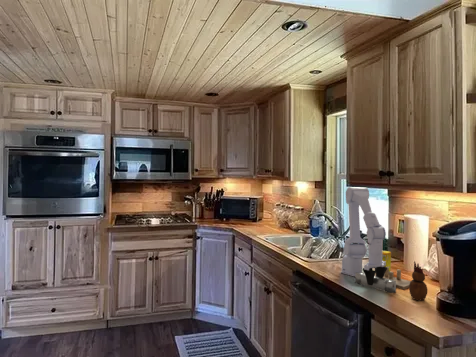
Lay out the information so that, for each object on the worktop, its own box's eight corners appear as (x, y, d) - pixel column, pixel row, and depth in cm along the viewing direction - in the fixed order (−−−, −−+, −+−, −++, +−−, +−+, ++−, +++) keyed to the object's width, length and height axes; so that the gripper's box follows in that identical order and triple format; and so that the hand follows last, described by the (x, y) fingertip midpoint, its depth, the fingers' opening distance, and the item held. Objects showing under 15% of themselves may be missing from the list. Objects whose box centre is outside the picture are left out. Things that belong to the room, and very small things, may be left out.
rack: (363, 278, 170) (363, 266, 170) (375, 274, 177) (375, 263, 177) (403, 289, 154) (404, 276, 154) (415, 285, 161) (416, 272, 161)
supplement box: (374, 272, 182) (374, 251, 182) (379, 270, 186) (379, 249, 186) (385, 274, 178) (386, 253, 177) (390, 272, 182) (391, 251, 182)
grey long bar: (353, 282, 163) (353, 272, 163) (358, 280, 166) (359, 271, 166) (392, 293, 148) (392, 283, 148) (397, 291, 151) (398, 281, 151)
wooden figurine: (406, 296, 145) (407, 260, 145) (419, 296, 146) (420, 260, 146) (415, 302, 139) (416, 264, 138) (429, 302, 139) (430, 264, 139)
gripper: (374, 257, 149) (374, 288, 149) (392, 253, 158) (391, 283, 158) (360, 254, 155) (359, 284, 155) (377, 250, 164) (377, 279, 164)
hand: (374, 283), depth 157 cm, fingers open, 7 cm apart
